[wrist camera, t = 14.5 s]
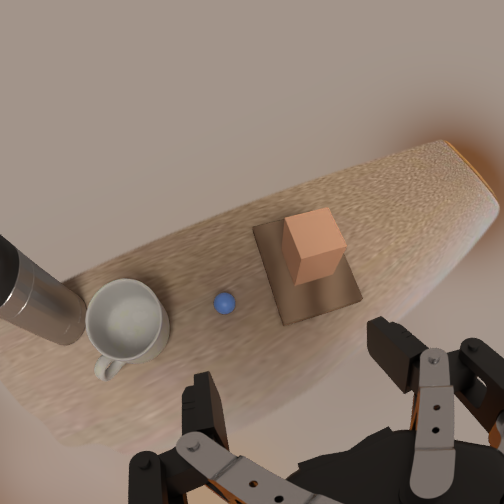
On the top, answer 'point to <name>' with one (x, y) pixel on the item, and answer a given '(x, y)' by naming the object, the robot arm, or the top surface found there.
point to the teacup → (125, 325)
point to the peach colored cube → (312, 245)
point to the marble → (224, 303)
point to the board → (307, 294)
